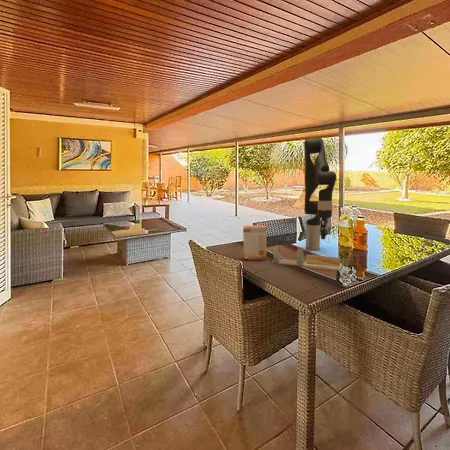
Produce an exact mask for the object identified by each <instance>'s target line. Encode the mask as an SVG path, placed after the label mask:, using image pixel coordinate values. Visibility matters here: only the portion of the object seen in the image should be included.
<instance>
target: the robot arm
mask: <svg viewBox="0 0 450 450" xmlns="http://www.w3.org/2000/svg"><path fill="white" fill-rule="evenodd" d="M303 149H304V150H303V151H304V214H305V215H314V217H312V218H308V219H307V220H306V221H305V224H306V225H305V227H306V228H305V250H308V251H319V250H320V245H321V244H320V243H321V240H325V239H326V236H328V227H329V219H330V218H332V216H333V191H334V187H335V185H336V182H337V174H336V172H334V171H330V165H329V163H328V160H327V157H326V156H327V155H326V149H325V143H324V140H323V138H322V137H310V138H306V139H305V140H304V143H303ZM312 154H313V155H315V154H317V156H316V158H315V159H314V162H313V160H312V159H311V155H312ZM319 186H327V187H326V188H322V189H319V191H318V200H310V199H311V197H312V196H313V194H314V193H315V191H316V190H317V188H319Z"/></svg>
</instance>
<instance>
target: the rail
mask: <svg viewBox="0 0 450 450" xmlns="http://www.w3.org/2000/svg"><path fill="white" fill-rule="evenodd" d="M305 261H306V263H307V264H317V265H327V266H338V267H339V266H340V263H341V257H336V256H335V257H334V256H325V255H324V256H322V255H314V254H306V256H305Z"/></svg>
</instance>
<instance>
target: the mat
mask: <svg viewBox="0 0 450 450" xmlns="http://www.w3.org/2000/svg"><path fill="white" fill-rule="evenodd" d="M304 261H305V263H304V264H303V266H302V267H303V268H311V269H322V270H331V271H342V267H343V263H341V262H340V266H339V267H338V266H327V265H317V264H307V263H306V260H304Z"/></svg>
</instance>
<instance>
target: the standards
mask: <svg viewBox="0 0 450 450" xmlns="http://www.w3.org/2000/svg"><path fill="white" fill-rule="evenodd" d="M281 249H282V248H281V245H275V247H273V259H272V261H271V264H277V265H288V266H297V267H298V266H299V267H303V264H304V263H305V261H306V260H304V247H303V246H302V247H300V246H299V247H298V249H297V250H296V259H287V258H281Z"/></svg>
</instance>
